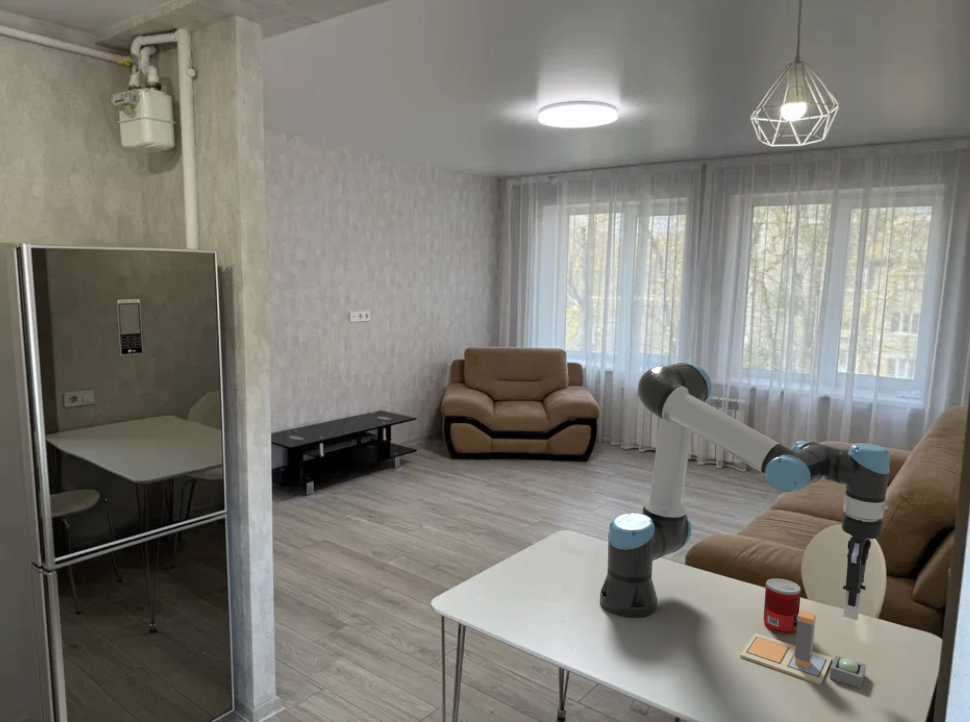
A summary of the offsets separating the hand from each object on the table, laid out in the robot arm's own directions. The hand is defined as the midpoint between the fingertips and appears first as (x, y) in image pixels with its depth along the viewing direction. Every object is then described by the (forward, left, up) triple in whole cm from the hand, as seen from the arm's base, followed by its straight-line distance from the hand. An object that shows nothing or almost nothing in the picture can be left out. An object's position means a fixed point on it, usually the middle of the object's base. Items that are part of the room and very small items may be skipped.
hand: (850, 616), depth 146 cm
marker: (-8, -4, -12) cm, 15 cm away
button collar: (+1, -2, -13) cm, 13 cm away
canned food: (-17, +11, -13) cm, 24 cm away
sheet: (-12, -3, -13) cm, 18 cm away
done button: (+1, -2, -12) cm, 13 cm away
